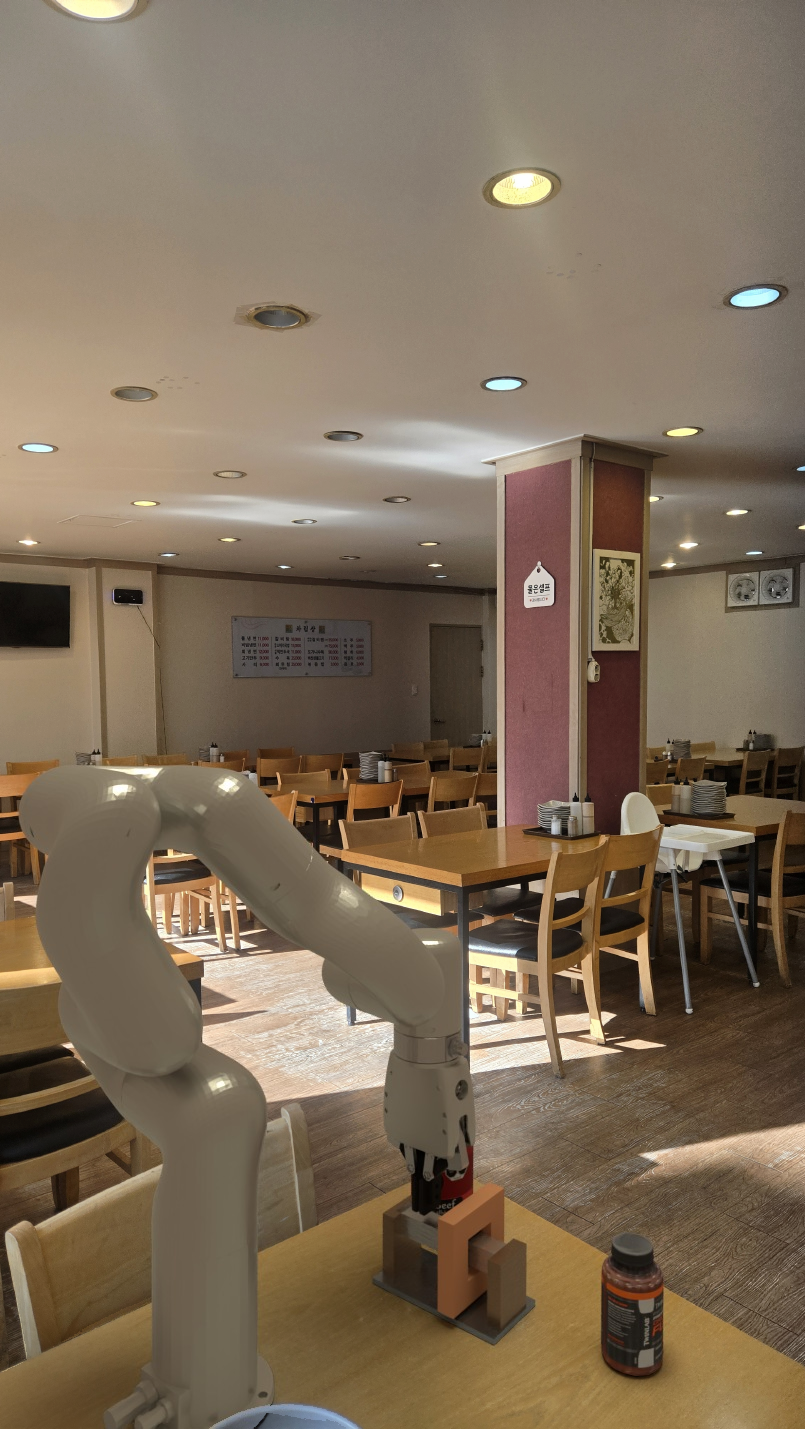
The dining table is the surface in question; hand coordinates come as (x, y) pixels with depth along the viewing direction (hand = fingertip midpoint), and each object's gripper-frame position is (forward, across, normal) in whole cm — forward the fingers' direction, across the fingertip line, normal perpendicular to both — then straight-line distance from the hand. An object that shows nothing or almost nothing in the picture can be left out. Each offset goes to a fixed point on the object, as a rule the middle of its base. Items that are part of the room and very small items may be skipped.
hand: (426, 1208), depth 103 cm
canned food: (+8, +6, -11) cm, 15 cm away
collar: (+7, -6, 0) cm, 9 cm away
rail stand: (+8, -4, 0) cm, 9 cm away
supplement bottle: (+8, -23, -4) cm, 25 cm away
